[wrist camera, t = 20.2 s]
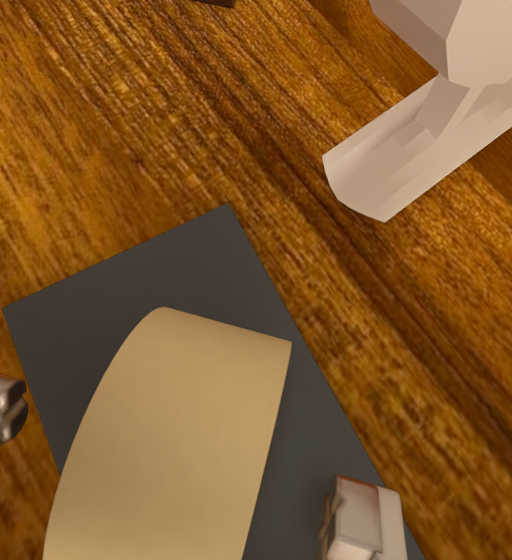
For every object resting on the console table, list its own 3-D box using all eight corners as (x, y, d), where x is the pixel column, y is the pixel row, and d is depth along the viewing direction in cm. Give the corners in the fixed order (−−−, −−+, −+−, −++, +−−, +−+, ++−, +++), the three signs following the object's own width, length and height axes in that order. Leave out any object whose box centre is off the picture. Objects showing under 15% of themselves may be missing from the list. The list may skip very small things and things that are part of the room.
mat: (8, 310, 21) (1, 308, 20) (228, 207, 22) (228, 202, 22) (176, 788, 16) (173, 802, 15) (450, 609, 17) (457, 615, 17)
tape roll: (228, 582, 17) (198, 752, 8) (116, 545, 17) (-22, 671, 9) (285, 360, 20) (307, 315, 11) (187, 332, 20) (134, 269, 11)
